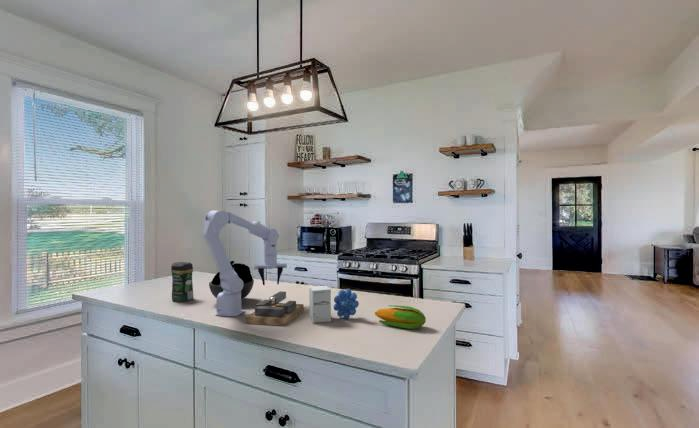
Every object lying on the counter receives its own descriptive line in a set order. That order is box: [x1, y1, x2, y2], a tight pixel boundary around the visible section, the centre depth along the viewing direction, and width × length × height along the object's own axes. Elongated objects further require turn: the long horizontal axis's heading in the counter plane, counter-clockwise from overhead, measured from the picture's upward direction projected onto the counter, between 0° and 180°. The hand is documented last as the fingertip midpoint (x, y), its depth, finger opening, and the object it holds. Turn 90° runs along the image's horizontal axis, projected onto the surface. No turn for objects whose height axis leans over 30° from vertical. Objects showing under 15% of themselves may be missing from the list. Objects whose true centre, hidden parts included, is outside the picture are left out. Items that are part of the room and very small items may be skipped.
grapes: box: [333, 288, 360, 320], centre depth 137 cm, size 12×7×12 cm, turn 58°
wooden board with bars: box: [245, 299, 305, 327], centre depth 140 cm, size 16×20×6 cm
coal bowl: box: [208, 260, 255, 301], centre depth 162 cm, size 20×20×19 cm
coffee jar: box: [170, 261, 194, 302], centre depth 168 cm, size 10×8×19 cm
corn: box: [374, 304, 427, 331], centre depth 127 cm, size 7×8×20 cm
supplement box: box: [308, 285, 332, 324], centre depth 135 cm, size 7×7×13 cm
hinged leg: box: [268, 290, 287, 306], centre depth 153 cm, size 12×3×3 cm, turn 167°
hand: (270, 284), depth 157 cm, fingers open, 6 cm apart
